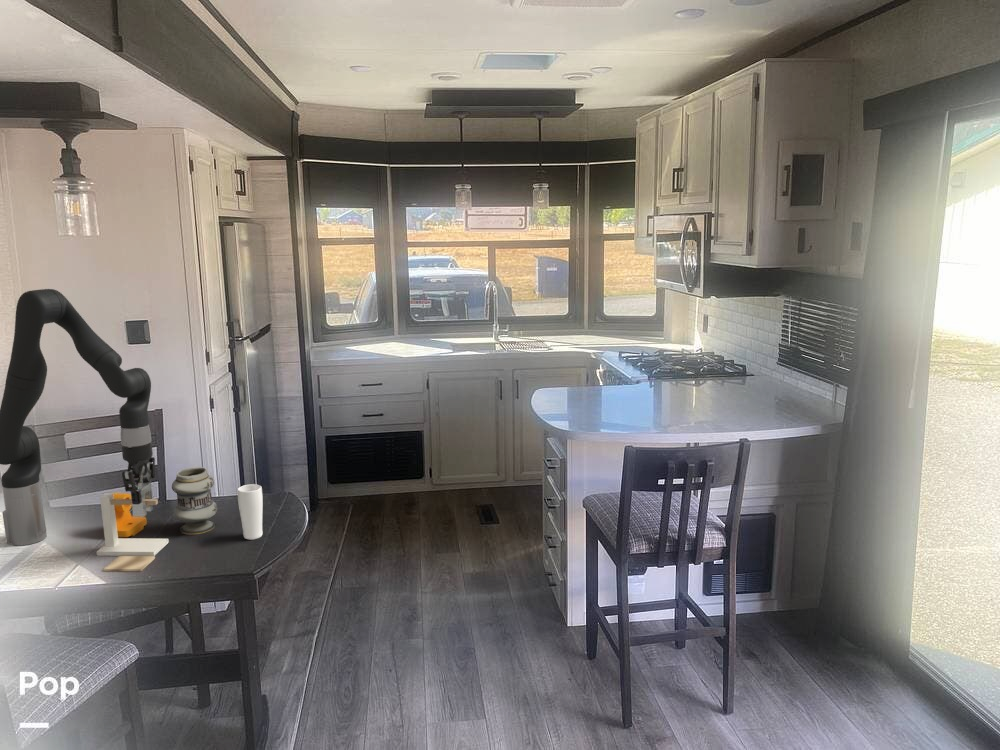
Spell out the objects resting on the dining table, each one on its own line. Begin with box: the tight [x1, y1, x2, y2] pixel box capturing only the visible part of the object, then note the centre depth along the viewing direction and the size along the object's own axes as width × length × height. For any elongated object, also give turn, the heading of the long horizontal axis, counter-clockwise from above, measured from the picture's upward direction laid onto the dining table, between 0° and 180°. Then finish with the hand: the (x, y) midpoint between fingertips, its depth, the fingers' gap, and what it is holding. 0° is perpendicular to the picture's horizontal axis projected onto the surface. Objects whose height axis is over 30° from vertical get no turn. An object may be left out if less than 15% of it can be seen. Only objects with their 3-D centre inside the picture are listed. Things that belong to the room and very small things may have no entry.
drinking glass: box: [237, 483, 264, 541], centre depth 224 cm, size 7×7×15 cm
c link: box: [131, 482, 154, 517], centre depth 215 cm, size 3×6×8 cm, turn 178°
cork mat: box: [103, 555, 156, 572], centre depth 208 cm, size 10×8×1 cm
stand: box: [96, 493, 170, 557], centre depth 216 cm, size 16×9×16 cm, turn 88°
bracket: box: [110, 492, 148, 538], centre depth 228 cm, size 11×7×12 cm, turn 174°
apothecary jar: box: [171, 466, 218, 536], centre depth 230 cm, size 12×12×18 cm
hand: (142, 499), depth 215 cm, fingers closed on c link, 5 cm apart
